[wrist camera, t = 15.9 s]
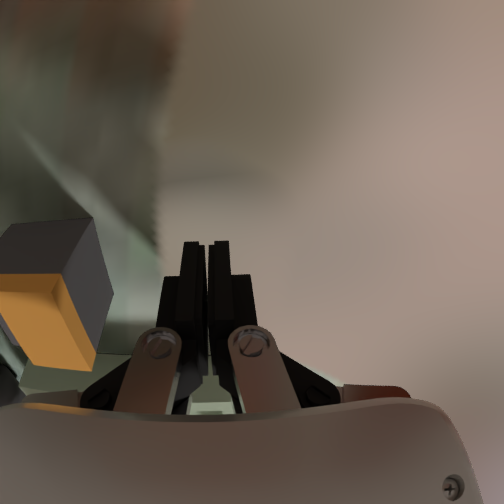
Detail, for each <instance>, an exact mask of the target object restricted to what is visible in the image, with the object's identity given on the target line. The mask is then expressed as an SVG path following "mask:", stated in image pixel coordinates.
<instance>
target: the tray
mask: <svg viewBox="0 0 504 504" xmlns="http://www.w3.org/2000/svg"><path fill="white" fill-rule="evenodd" d="M131 357H132V355H114V354H96V356H95V360H94V364H93V368H92V372H91V371H80V370H70V369H60V368H52V367H44V366H37V365H33V363H32V362H31V360H30V359H29V358H28V361H27V363H26V366H25V369H24V372H23V374H22V377H21V380H20V383H19V387H20V389H21V390H22V391H23V392H24V393H25V394H26V396H27V395H29V394H33V393H45V392H57V391H67V390H76V389H77V390H78V391H79V392H84V390H86V389H87V388H88V387H89V386H90V385H92V384H93V383H95V382H96V381H97V380H99V379H100V378H102V377H103V376H105V375H106V374H108V373H109V372H110V371H112V370H113V369H115V368H116V367H118V366H119V365H120V364H122V363H123V362H125V361H126V360H128V359H129V358H131ZM218 414H234V411H233V408H232V404H231V400H230V393H229V392H227V391H226V390H225V389H223V388H222V387H221V386H219V377H218V375H216V376H213V370H212V361H211V356H208V376H203V384H201V386H200V387H199V388H197V389H196V390H195V391H194V392H193V399H192V404H191V409H190V415H218Z"/></svg>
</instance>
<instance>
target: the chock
mask: <svg viewBox="0 0 504 504" xmlns="http://www.w3.org/2000/svg"><path fill="white" fill-rule="evenodd" d="M113 295H114V292H113V289H112V286H111V282H110V279H109V276H108V272H107V269H106V265H105V262H104V258H103V255H102V251H101V247H100V244H99V240H98V236H97V232H96V228H95V224H94V219H93V218H82V219H68V220H56V221H44V222H32V223H22V224H11V226H10V227H9V228H8V229H7V230H6V231H5V233H4V234H3V235H2V236H1V237H0V325H1V327H2V329H3V330H4V332H5V333H6V335H7V336H8V338H9V340H10V341H11V343H12V344H13V345H16V346H21V347H22V349H23V350H24V352H25V353H26V355H27V356H28V358H29V359H30V360H31V362H32V363H33V365H37V366H44V367H52V368H60V369H70V370H80V371H91V372H92V368H93V364H94V360H95V356H96V352H97V349H98V345H99V341H100V338H101V334H102V331H103V327H104V324H105V320H106V317H107V314H108V310H109V307H110V304H111V301H112V298H113Z"/></svg>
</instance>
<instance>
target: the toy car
mask: <svg viewBox="0 0 504 504" xmlns="http://www.w3.org/2000/svg"><path fill="white" fill-rule="evenodd" d="M24 397H26V394H25V393H24V392H23V391H22V390H21V389H20V387H19V382H18V381H17V379H16V378H15V377H14V376H13V374H12V373H11V372H10V370H9V369H8V368H7V367H6V366H4V365H2V364H0V407H2V406H6V405H10V404H16V403H20V402H21V401H22V399H23V398H24Z"/></svg>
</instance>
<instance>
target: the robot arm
mask: <svg viewBox="0 0 504 504" xmlns="http://www.w3.org/2000/svg"><path fill="white" fill-rule="evenodd" d="M229 254H230V253H229V241H215V242H214V245H209V257H208V258H209V259H208V292H207V278H206V262H205V246H204V245H199V242H198V241H197V242H184V247H183V254H182V261H181V269H180V276H165V277H164V281H163V286H162V292H161V298H160V304H159V310H158V316H157V322H156V328H152V329H150V330H148V331H146V332H144V333H143V334H142V335H141V336H140V337H139V339H138V341H137V343H136V346H135V349H134V351H133V354H132V357H131V358H129V359H128V360H126V361H125V362H123V363H122V364H120V365H119V366H118V367H116V368H115V369H113V370H112V371H110V372H109V373H108V374H106V375H105V376H103V377H102V378H100V379H99V380H97V381H96V382H95V383H93V384H92V385H90V386H89V387H88V388H87V389H86V390H84V392H79V391H78V390H77V389H76V390H67V391H57V392H45V393H33V394H29V395H27V396H26V397H24V398H23V399H22V401H21V402H20V403H16V404H10V405H6V406H2V407H0V504H483V500H482V497H481V493H480V490H479V487H478V483H477V480H476V477H475V474H474V471H473V468H472V464H471V462H470V459H469V457H468V454H467V452H466V449H465V447H464V444H463V442H462V440H461V438H460V436H459V433H458V431H457V430H456V428H455V426H454V424H453V423H452V421H451V419H450V418H449V416H448V415H447V414H446V413H445V412H444V410H442V409H441V408H440V407H439V406H436V405H435V404H433V403H430V402H427V401H423V400H419V399H413V398H411V397H410V395H409V393H408V392H407V391H406V390H404V389H403V388H401V387H397V386H374V385H350V384H344V385H343V387H338V386H335V385H333V384H332V383H331V382H330V381H328V380H326V379H324V378H323V377H321V376H319V375H318V374H316V373H314V372H313V371H311V370H309V369H307V368H306V367H304V366H302V365H301V364H299V363H298V362H296V361H294V360H293V359H291V358H289V357H288V356H286V355H284V354H283V353H281V352H280V351H279V350H278V347H277V345H276V342H275V339H274V338H273V336H272V334H271V333H270V332H269V331H268V330H266V329H264V328H262V327H260V326H258V324H257V317H256V310H255V304H254V297H253V289H252V282H251V276H250V274H246V275H245V274H244V275H231V268H230V255H229ZM208 330H209V341H210V351H211V361H212V370H213V376H216V375H218V377H219V386H221V387H222V388H223V389H225V390H226V391H227V392H229V393H230V400H231V404H232V408H233V411H234V414H218V415H190V409H191V404H192V399H193V392H194V391H195V390H196V389H197V388H199V387H200V386H201V384H203V376H208Z"/></svg>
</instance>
